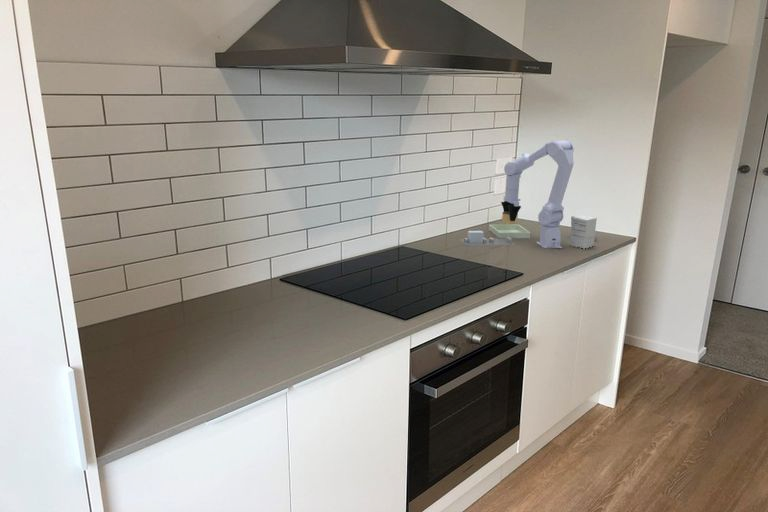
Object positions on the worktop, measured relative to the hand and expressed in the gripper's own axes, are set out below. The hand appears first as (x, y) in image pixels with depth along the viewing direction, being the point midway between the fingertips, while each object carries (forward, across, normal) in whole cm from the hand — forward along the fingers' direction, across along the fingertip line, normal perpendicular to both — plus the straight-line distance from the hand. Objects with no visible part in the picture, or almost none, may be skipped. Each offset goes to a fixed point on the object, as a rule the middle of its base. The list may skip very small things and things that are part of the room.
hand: (509, 219), depth 276 cm
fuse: (+7, -13, +20) cm, 24 cm away
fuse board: (+7, -13, +14) cm, 20 cm away
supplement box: (+8, -21, -25) cm, 33 cm away
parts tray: (+7, +1, 0) cm, 7 cm away
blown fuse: (+1, 0, 0) cm, 1 cm away
